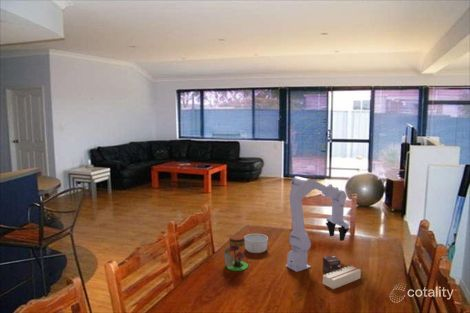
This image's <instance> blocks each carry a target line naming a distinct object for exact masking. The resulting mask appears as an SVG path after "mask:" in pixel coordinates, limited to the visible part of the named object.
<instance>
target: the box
mask: <svg viewBox="0 0 470 313" xmlns="http://www.w3.org/2000/svg"><path fill="white" fill-rule="evenodd" d="M339 269H341V259H339V258H338V257H336V256H335V255H332V256H331V255H329V256H323V257H322V272H323V273H324V275H325V274H328V273H330V272H333V271H336V270H339Z"/></svg>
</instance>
